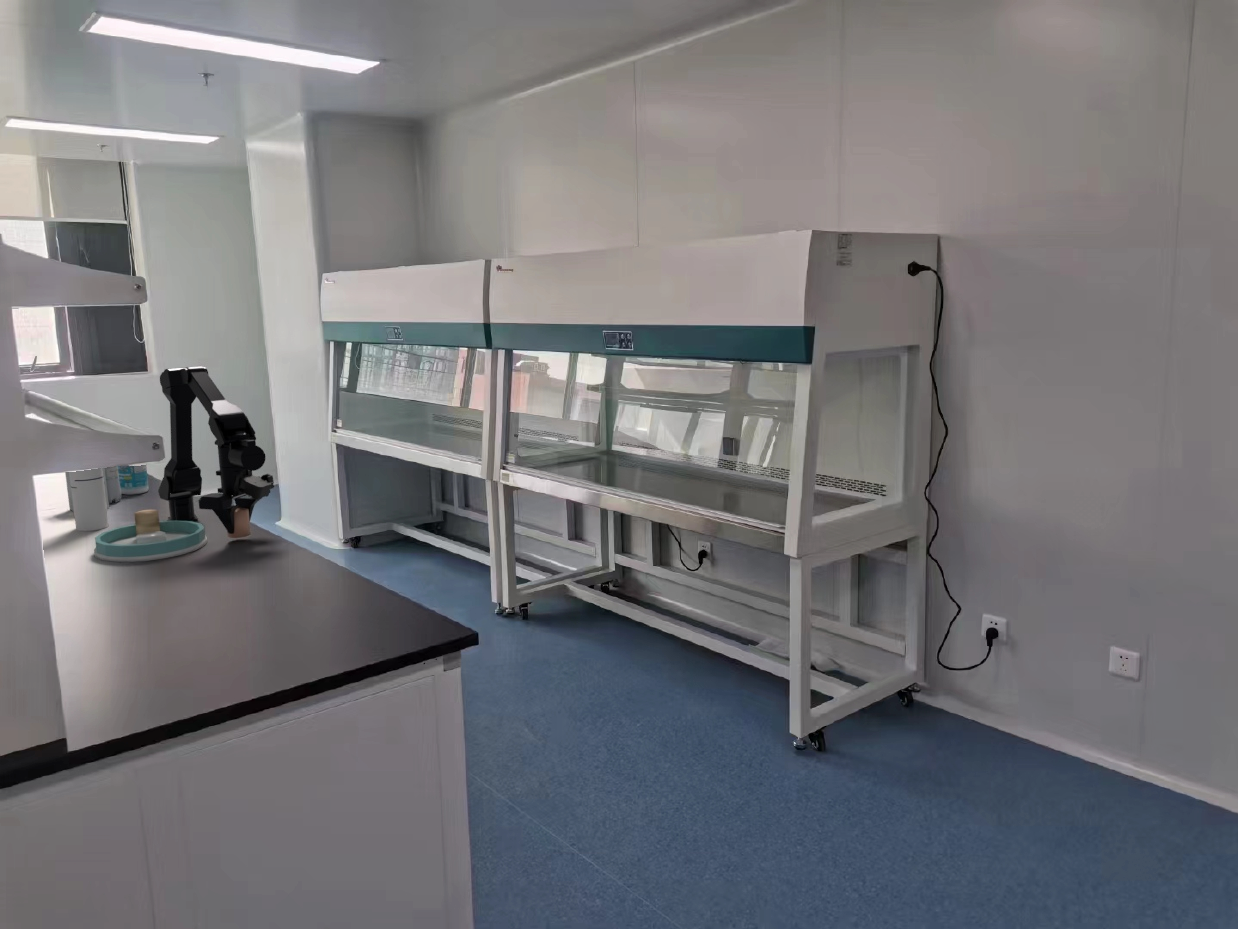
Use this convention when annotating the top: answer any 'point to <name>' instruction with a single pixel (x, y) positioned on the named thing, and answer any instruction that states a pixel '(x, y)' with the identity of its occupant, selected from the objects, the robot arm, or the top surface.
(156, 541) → the groove tray
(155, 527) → the wood cylinder
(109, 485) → the bottle
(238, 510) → the pinkish brown short cylinder
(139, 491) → the pill bottle
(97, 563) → the top surface
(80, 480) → the cylindrical container
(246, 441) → the robot arm
